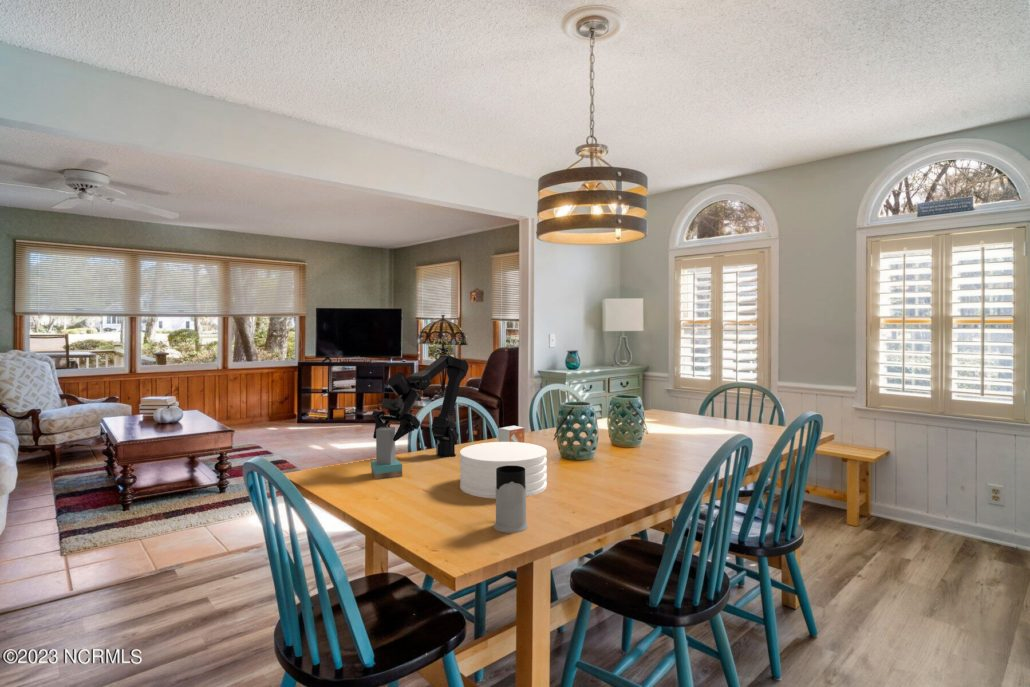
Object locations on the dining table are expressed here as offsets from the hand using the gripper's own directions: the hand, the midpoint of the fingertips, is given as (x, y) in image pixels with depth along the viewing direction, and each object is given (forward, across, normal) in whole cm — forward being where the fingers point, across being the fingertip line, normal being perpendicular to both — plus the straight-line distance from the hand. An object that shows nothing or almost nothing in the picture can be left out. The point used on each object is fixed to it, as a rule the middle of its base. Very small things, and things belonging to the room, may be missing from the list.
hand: (383, 439), depth 197 cm
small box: (-18, +28, +36) cm, 49 cm away
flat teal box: (+9, 0, +10) cm, 13 cm away
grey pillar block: (+5, 0, +6) cm, 8 cm away
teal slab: (+7, 0, +8) cm, 11 cm away
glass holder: (+22, +62, -4) cm, 66 cm away
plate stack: (+2, +42, +17) cm, 45 cm away
